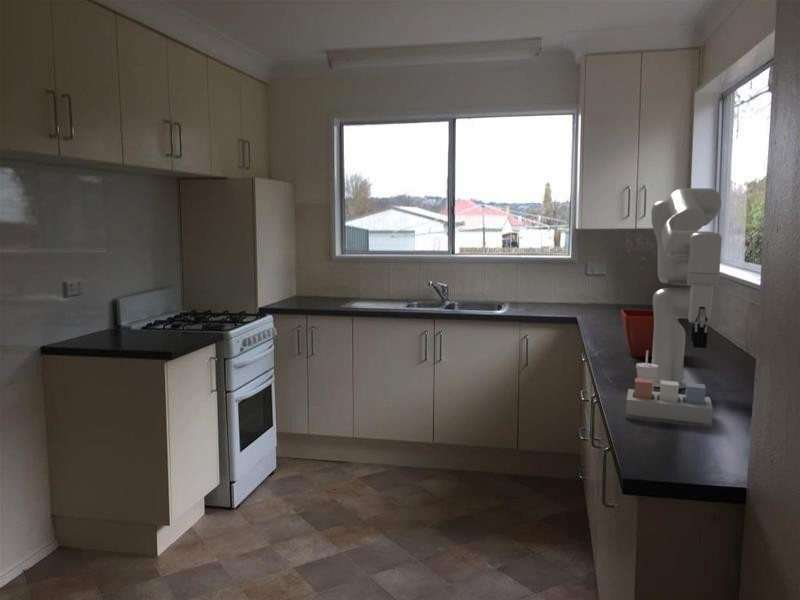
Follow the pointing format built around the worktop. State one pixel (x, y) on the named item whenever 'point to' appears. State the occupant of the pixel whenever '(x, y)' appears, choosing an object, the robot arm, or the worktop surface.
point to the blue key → (695, 393)
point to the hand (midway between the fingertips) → (698, 344)
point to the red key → (643, 388)
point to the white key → (669, 391)
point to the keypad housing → (669, 410)
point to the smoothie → (647, 370)
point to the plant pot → (638, 331)
